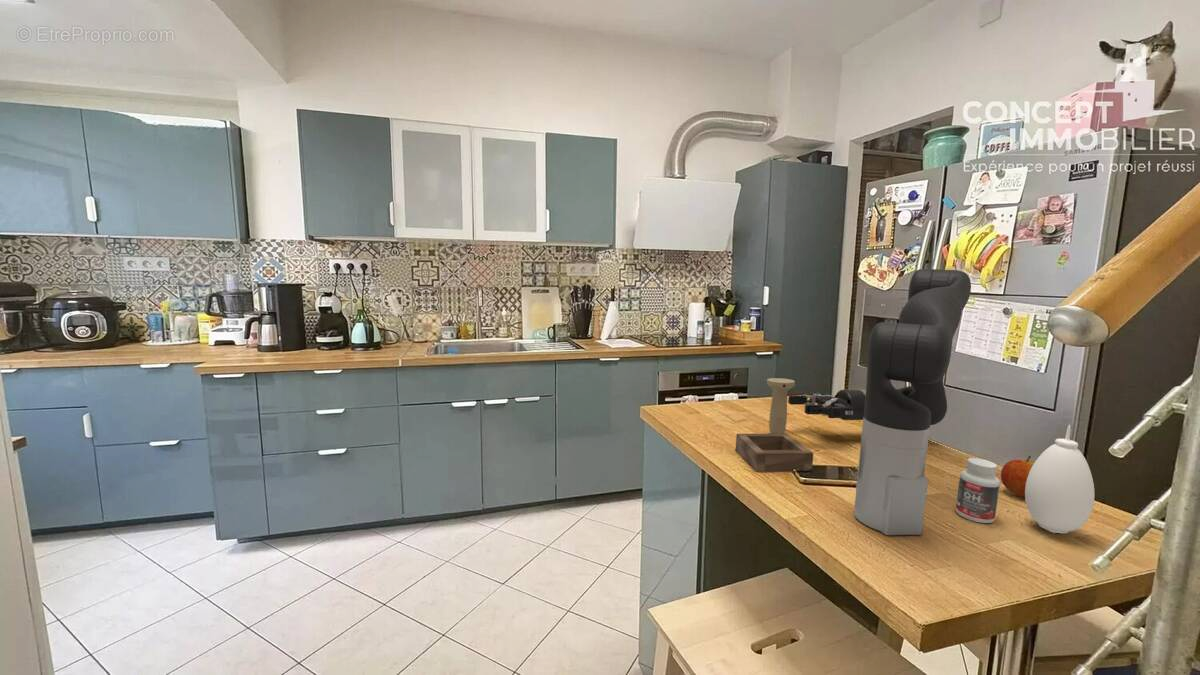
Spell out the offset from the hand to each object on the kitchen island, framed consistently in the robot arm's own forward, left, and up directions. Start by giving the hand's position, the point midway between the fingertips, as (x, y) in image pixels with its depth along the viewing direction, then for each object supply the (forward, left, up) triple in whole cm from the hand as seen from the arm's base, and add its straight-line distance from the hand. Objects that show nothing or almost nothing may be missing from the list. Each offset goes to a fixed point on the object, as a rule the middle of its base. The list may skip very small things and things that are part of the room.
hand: (796, 404), depth 117 cm
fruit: (-31, -29, -9) cm, 44 cm away
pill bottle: (-38, -13, -9) cm, 41 cm away
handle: (0, +5, -9) cm, 10 cm away
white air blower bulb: (-43, -22, -9) cm, 49 cm away
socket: (-13, +12, -9) cm, 19 cm away
